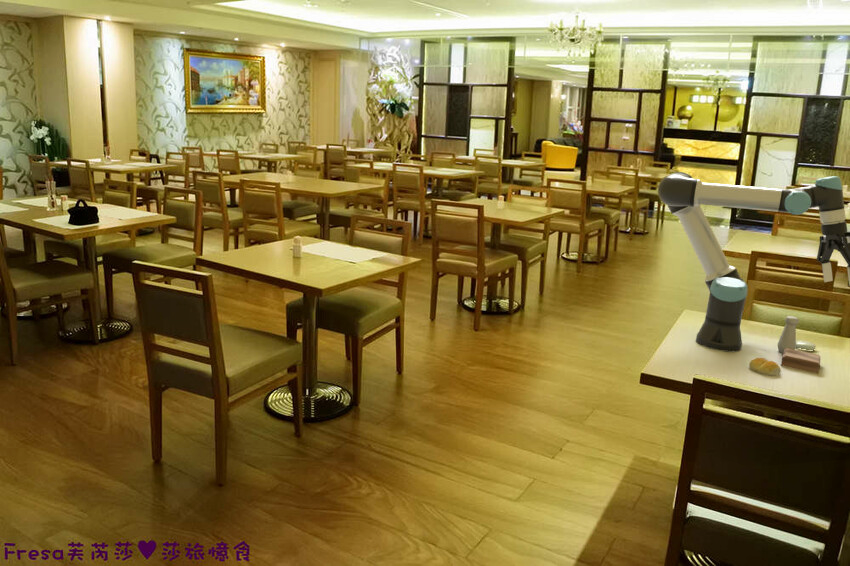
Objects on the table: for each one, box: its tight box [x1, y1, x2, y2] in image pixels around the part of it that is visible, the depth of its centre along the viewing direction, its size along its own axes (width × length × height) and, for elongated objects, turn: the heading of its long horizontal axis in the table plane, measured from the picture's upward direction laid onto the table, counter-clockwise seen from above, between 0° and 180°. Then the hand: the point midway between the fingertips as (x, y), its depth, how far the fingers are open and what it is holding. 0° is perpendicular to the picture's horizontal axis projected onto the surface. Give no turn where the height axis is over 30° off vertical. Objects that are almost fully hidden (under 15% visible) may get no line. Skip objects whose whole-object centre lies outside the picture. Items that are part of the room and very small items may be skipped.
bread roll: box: [749, 357, 782, 377], centre depth 225 cm, size 8×9×4 cm
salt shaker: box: [777, 315, 800, 354], centre depth 245 cm, size 6×6×13 cm
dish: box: [796, 339, 817, 350], centre depth 254 cm, size 7×7×2 cm
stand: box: [780, 348, 821, 374], centre depth 234 cm, size 11×11×4 cm
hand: (840, 283), depth 241 cm, fingers open, 13 cm apart
